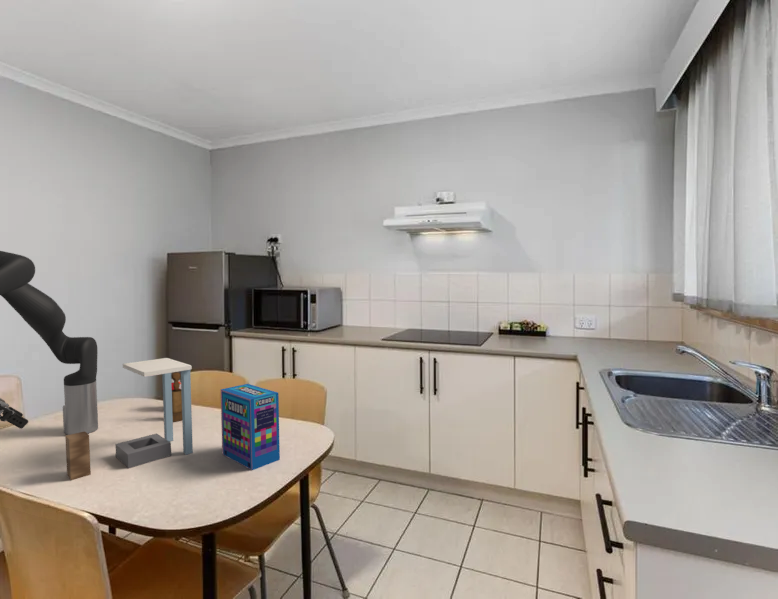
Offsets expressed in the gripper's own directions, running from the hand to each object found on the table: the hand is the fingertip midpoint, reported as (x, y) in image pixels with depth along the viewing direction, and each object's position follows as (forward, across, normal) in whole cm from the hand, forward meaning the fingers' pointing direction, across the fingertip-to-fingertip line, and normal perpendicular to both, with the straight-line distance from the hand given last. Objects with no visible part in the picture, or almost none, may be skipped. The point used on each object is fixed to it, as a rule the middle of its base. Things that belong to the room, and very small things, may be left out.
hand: (22, 421), depth 107 cm
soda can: (+49, +42, -25) cm, 69 cm away
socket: (+32, 0, -7) cm, 32 cm away
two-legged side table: (+35, 0, -10) cm, 36 cm away
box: (+47, -25, -22) cm, 57 cm away
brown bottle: (+46, +28, -22) cm, 59 cm away
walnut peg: (+20, 0, +4) cm, 21 cm away
